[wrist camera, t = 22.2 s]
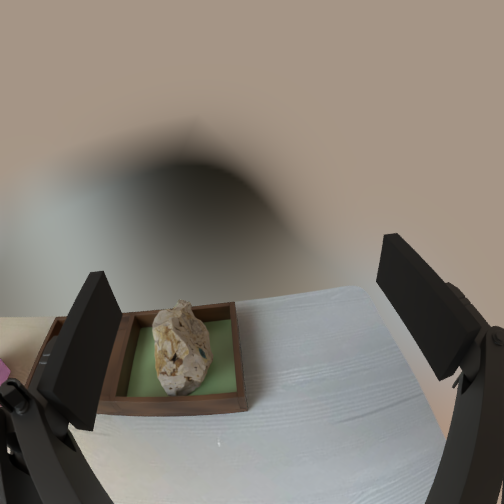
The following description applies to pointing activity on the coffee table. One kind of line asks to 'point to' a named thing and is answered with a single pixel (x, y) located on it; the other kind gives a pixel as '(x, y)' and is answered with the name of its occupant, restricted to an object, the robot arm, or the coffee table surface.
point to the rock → (181, 349)
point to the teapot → (3, 372)
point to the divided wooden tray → (145, 375)
